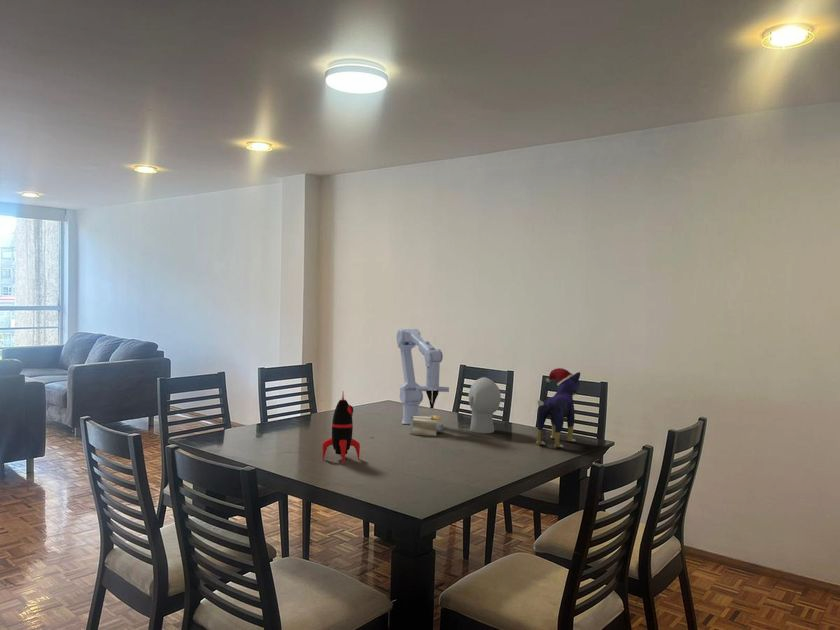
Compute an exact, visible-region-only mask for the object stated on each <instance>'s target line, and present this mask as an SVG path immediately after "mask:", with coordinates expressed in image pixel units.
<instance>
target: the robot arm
mask: <svg viewBox="0 0 840 630" xmlns="http://www.w3.org/2000/svg"><path fill="white" fill-rule="evenodd" d="M396 343H397V348H399V350H400V358H401V365H402V366H401V367H402V373H403V380H404V384H403V385H402V386H401V387H400V388H399V401H400V402H401V403H402V404H403V409H402V410H403V411H402V413H403V415H402V419H401V424H402V425H410V417H413V416H420V415H419V414H420V412H419V411H420V405H421V403H423V400H424V393H423V392H426V396H427V398H428V401H429V408H430V409H434V406H435V404H436V403H435V402H436V400H437V397H438V396H439V392H440V393H442V392H443V393H450V387H448V386H440V370H441V369H440V367H441V366H440V364H441V362H442V361H443V358H444V357H443V355H444V354H443V352H442V350H441V349H436V348H435V347H434V346H433V345H432V344H431V343H430V341H428V340H424V338H423V337H422V336H421V332H420V330H419V329H417V328H414V329H413V328H409V329H408V328H406V329H405V328H404V329H403V328H400V329H398V331H397V332H396ZM416 346H417V347H418V351H419V352H420V353H421V355H423V357H424V358H423V359H424V363H425V367H426V374H425V375H426V377H425V378H426V380H425V385H424V386H422V385H420V384H419V383H417V382H416V377H415V368H414V362H413V356H412V355H413V354H412V349H414V348H415V347H416Z"/></svg>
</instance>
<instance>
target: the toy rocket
mask: <svg viewBox="0 0 840 630" xmlns="http://www.w3.org/2000/svg"><path fill="white" fill-rule="evenodd" d="M341 396H342V397H341V399H339V400H338V401H337V404H336V406H335V409H334V412H333V417H332V422H331V437H330V438H328V439H326V440H324V441H323V443H322V460H325V455H326V452H327V449H328V448H329V447H330V446H332V447H333V448H332V449H333V450H334V451H335V455H341V460H342V464H345V461H346V455H347V454H348V451H349V450H350V449H351V446H352V447H354V448H355V449H354V450H355V451H356V456H357V460H360V452H361V451H360V449H361V444H360V442H359V441H358V440H356V439H354V438H353V429H354V428H353V427H354V425H353V422H354V421H353V415H354V407H353V406H352V405H351V404H349V403H348V401H347V399H345V397H344V396H345V395H344V392H342V395H341Z"/></svg>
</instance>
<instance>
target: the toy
mask: <svg viewBox="0 0 840 630" xmlns="http://www.w3.org/2000/svg"><path fill="white" fill-rule="evenodd" d="M580 377H581V372H580V371H579V372H576V373H575V374H573V373H572V372H570V371H569V370H567V369H565V368H563V367H562V368H561V367H560V368H559V367H557V368H554V369H552V370H551V371H550V372H549V375H548V377H546V380H545V381H546V382H547V383H550V382H551V380H555V381H556V386H557V387H558V388H557V391H556V393H555V394H554V395H553V396H551V397H549V398H547V399H545V400H543V401H542V400H541V399H537V400H536V401H537V406H538V407H537V412H536V423H537V424H536V425H537V427H536V444H537V445H540V446H541V445H542V446H543V445H544V446H545V445H546V442H544V441H542V432H543V428H544V426H545V423H546V420H547V418H548V417H549V419H550V424H551V435H550V439H554V448H559V449H560V448H562V449H563V448H564V445H563V444H562V443H561V444H560V436H561V432H562V430H563V428H564V421H565V419H566V423H567V439H566V441H568V442H574V443H575V442H576V439H575V438H573V434H574V427H575V404H574V398H573V397H574V396H575V395H577V393H578V390H579V387H580Z"/></svg>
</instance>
